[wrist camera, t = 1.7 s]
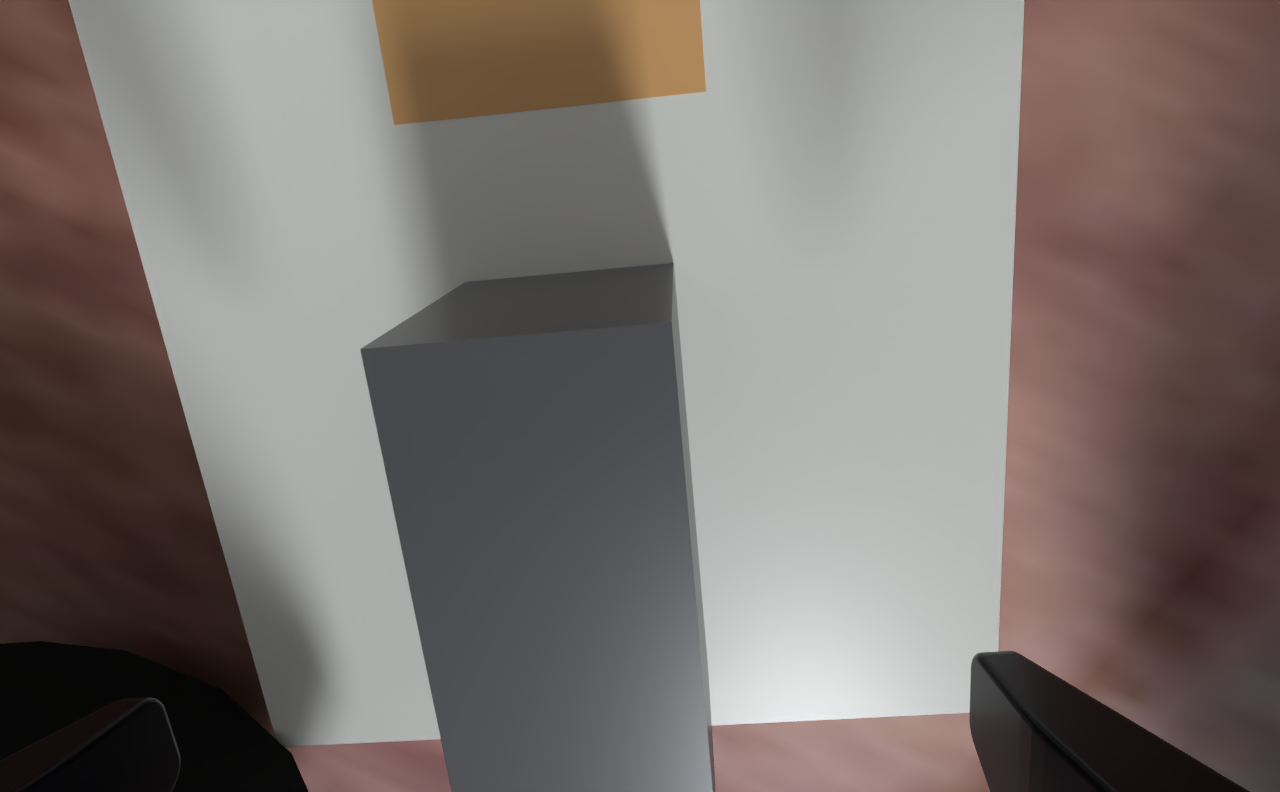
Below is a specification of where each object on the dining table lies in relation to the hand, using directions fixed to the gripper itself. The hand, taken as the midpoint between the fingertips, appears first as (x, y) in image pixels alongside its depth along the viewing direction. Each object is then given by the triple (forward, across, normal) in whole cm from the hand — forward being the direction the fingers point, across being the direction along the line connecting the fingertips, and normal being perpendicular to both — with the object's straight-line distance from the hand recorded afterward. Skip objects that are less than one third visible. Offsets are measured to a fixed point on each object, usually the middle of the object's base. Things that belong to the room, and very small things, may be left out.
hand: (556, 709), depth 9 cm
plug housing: (+6, 0, 0) cm, 6 cm away
